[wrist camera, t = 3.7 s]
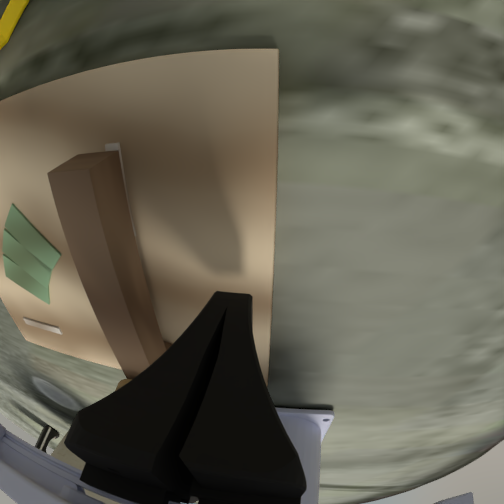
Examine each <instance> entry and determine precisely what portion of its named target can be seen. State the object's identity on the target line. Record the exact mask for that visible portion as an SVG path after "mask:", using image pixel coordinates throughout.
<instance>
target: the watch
mask: <svg viewBox="0 0 504 504" xmlns="http://www.w3.org/2000/svg"><path fill="white" fill-rule="evenodd" d="M29 1H30V0H10V2H9V4H8V6H7V8H6V10H5V12H4V14H3V16H2V18H1V20H0V49H1V48H2V47H3V46H4V45H5V44H6V43H7V42H8V41H9V39H10V36H11V34H12V32H13V30H14V28H15V26H16V24H17V22H18V20H19V18H20V17H21V15H22V13H23V11H24V9H25V8H26V6H27V4H28V3H29Z"/></svg>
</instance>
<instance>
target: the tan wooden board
mask: <svg viewBox="0 0 504 504" xmlns="http://www.w3.org/2000/svg"><path fill="white" fill-rule="evenodd" d="M278 112H279V50H278V49H227V50H210V51H198V52H188V53H179V54H171V55H163V56H157V57H150V58H144V59H138V60H133V61H128V62H123V63H118V64H113V65H109V66H104V67H100V68H96V69H92V70H88V71H84V72H81V73H77V74H74V75H70V76H67V77H64V78H60V79H57V80H54V81H51V82H48V83H45V84H42V85H39V86H36V87H34V88H31V89H28V90H25V91H23V92H20V93H18V94H15V95H13V96H10V97H8V98H6V99H3V100H1V101H0V297H1V299H2V301H3V303H4V304H5V306H6V308H7V310H8V311H9V313H10V315H11V317H12V318H13V320H14V322H15V323H16V325H17V326H18V328H19V330H20V331H21V333H22V334H23V336H24V338H25V339H26V340H27V341H29V342H32V343H35V344H38V345H40V346H43V347H46V348H49V349H52V350H55V351H58V352H61V353H64V354H68V355H71V356H74V357H77V358H81V359H84V360H88V361H91V362H95V363H98V364H102V365H106V366H110V367H114V368H118V369H122V368H121V366H120V365H119V363H118V361H117V359H116V357H115V355H114V353H113V351H112V349H111V347H110V345H109V343H108V341H107V339H106V337H105V335H104V333H103V331H102V328H101V326H100V324H99V322H98V320H97V318H96V315H95V313H94V311H93V309H92V306H91V304H90V302H89V299H88V297H87V294H86V292H85V290H84V287H83V285H82V282H81V280H80V277H79V274H78V272H77V269H76V267H75V264H74V261H73V258H72V256H71V253H70V250H69V247H68V244H67V241H66V238H65V235H64V232H63V229H62V226H61V222H60V219H59V216H58V212H57V209H56V205H55V202H54V198H53V195H52V191H51V187H50V183H49V179H48V175H47V173H48V172H50V171H51V170H53V169H55V168H56V167H58V166H59V165H61V164H63V163H64V162H66V161H68V160H69V159H71V158H73V157H74V156H76V155H78V154H85V153H94V152H105V151H116V150H119V157H120V163H121V169H122V175H123V181H124V186H125V192H126V197H127V202H128V207H129V212H130V217H131V221H132V226H133V231H134V235H135V240H136V244H137V248H138V252H139V256H140V260H141V264H142V268H143V272H144V276H145V280H146V284H147V287H148V291H149V295H150V298H151V302H152V305H153V309H154V312H155V315H156V319H157V322H158V325H159V329H160V332H161V335H162V338H163V341H166V342H169V343H171V344H173V343H174V342H175V341H176V340H177V339H178V338H179V337H180V336H181V335H182V334H183V332H184V331H185V330H186V329H187V328H188V327H189V325H190V324H191V323H192V322H193V320H194V319H195V318H196V317H197V316H198V314H199V313H200V312H201V310H202V309H203V308H204V306H205V305H206V304H207V302H208V301H209V300H210V298H211V297H212V295H213V294H214V293H215V292H216V291H222V292H233V293H245V294H250V295H251V296H252V297H253V336H254V342H255V347H256V352H257V356H258V360H259V364H260V367H261V371H262V374H263V377H264V380H265V383H266V386H267V385H268V372H269V355H270V337H271V318H272V298H273V277H274V253H275V227H276V197H277V162H278Z"/></svg>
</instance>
